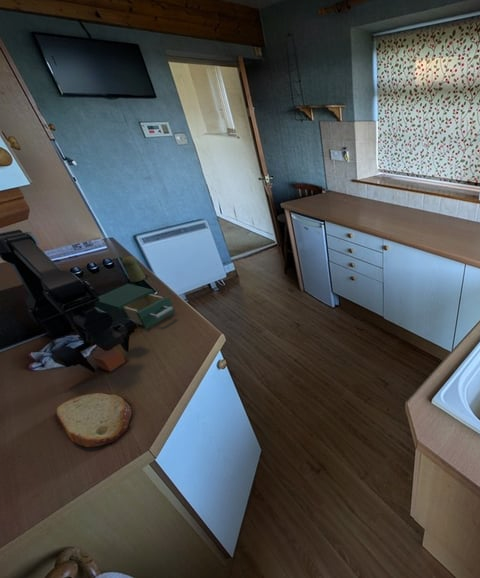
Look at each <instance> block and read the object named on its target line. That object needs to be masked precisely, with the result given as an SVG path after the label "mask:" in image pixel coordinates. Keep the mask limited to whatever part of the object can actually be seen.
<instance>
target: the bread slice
mask: <svg viewBox="0 0 480 578" xmlns="http://www.w3.org/2000/svg"><path fill="white" fill-rule="evenodd" d="M131 417H132V409H131V406H130V405H129V404H128V403H127V402H126V401H125V400H124V398H122V397H121V396H119V395H117V394H107V393H106V394H105V393H102V392H100V393H99V392H98V393H97V392H95V393H88V394H84V395H79V396H76V397H74V398H71V399H69V400H67V401H65V402H63V403H61V404H60V405H58V407H57V408H56V418H57V420H58V423H59V425H60V426H61V428H62V429H63V431H64V433H65V434H66V436H67V437H68V439H70V441H71V442H73V443H75V444H78V445H80V446H82V447H84V448H92V447H93V448H94V447H100V446H104V445H107V444H112V443H114V442H115V441H117V440H118V439H120V437H121V436H122V435H123V434H124V433H126V432H127V430H128V428H129V422H130V419H131Z"/></svg>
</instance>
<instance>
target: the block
mask: <svg viewBox="0 0 480 578" xmlns="http://www.w3.org/2000/svg"><path fill="white" fill-rule="evenodd" d="M93 358H94V360H95V362H96V363H97V364H98V366H99V368H100V369H102V370H105V371H108V372H112V371H114V370H115V369H117V368H118V367H120V366H121V365H123V364H124V363H127V362H126V359H125V357H124V356H123V354H122V353H121V351H120V350H117V349H115V348H112V349H111V350H109V351H104V350H103V351H102V352H100V353H99V354H97V355H95V356H94V357H93Z"/></svg>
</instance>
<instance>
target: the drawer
mask: <svg viewBox="0 0 480 578" xmlns="http://www.w3.org/2000/svg"><path fill="white" fill-rule="evenodd" d="M122 310H123V312H124V314H125V316H126V317H127V319H131V320H134V321H135V322H136V323H137V325H141V326H142V327H143V329H149V328H150V327H152V326H154V325H155V324H157V323H158V322H160V321H162V320H163V319H165V318H167V317H168V316H170V315H172V314H173V313H175V312H176V309H175V307H174V305H173V303H172V301H171V298H170V296H164V297H163V296H161V295H157V294H155V295H153V294H148V295H146V296H144V297H142V298H140V299H138V300H136V301H134V302H132V303H130V304H128V305H126V306H124V307H122Z"/></svg>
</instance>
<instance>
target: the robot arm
mask: <svg viewBox="0 0 480 578" xmlns="http://www.w3.org/2000/svg"><path fill="white" fill-rule="evenodd" d="M38 245H40V242H39V241H38V239H37V238H36V236H35V235H34V234H33V232H32V231H26V232H23V231H22V230H21V229H13V230H10V231H5V232H4V231H3V232H0V259H1V260H2V261H3V262H6V263H8V264H10V266H11V267H12V268H13V270H14V272H15V273H16V276H18V279H19V280H20V281H21V283H22V285H23V287H24V288H25V290H26V292H27V294H28V295H29V296H28V298H27V299H26V301H25V304H26V305H27V307H28V308H27V313H28V314H27V315H28V316H29V317H30V319H31V320H32V321H33V322H34V323H36V324H37V325H38V326H40V325H41V326H42V327H43V329H44V331H45V332H44V334H45V335H46V336H49V337H53V338H55V339H58V338H61V337H62V336H65V335H66V334H68V333H70V332H73V331H75V332H76V333H77V335H78V337H77V338H78V339H79V341H81V342H82V343H80V344H79V345H78V346H76V347H71V346H69V345H66V346H64V347H63V348H61V349H59V350H57V351H55V352H53V353H52V354H51V360H52V361H53V362H54V364H56V365H57V364H58V365H60V366H63V367H65V368H69V367H75V366H78V365H79V366H81V367H82V368H84V369H86V370H88V371H90V372H92V373H96V372H97V371H96V369H95V367H94V366H93V365H92V364H91V363H90V362H89V361H88V358H87V357H85V355H84V354H83V353H84V352H86V351H87V350H90V349H91V348H93V347H95V346H96V347H98V348H100V349H101V350H103V352H104V351H109V350H111V349H114V348H116V347H117V346H118V345H120V347H121V348H122V349H123V350H124V352H125V353H128V352H129V351H130V337H131V335H132V334H133V333H134V332H136V329H138V328H139V324H137V323H136V322H135V321H134V320H131V319H127V318H123V317H122V318H120V319H118V320H116V321H114V322H113V319H112V317H111V315H109V314H108V313H106V312H104V311H102V310H100V309H99V308H97V307H96V305H95V304H94V303H95V302H97V301H100V299H99V298H98V297H99V293H98V292H97V291H96V290H95V289H94V287H92V286H91V284H90V283H89V282H88V281H85V280H84V279H83V278H79V277H78V276H77V275H76V274H74V273H73V272H72V271H68V270H64V269H62V268H60V267H59V266H58V265H57V263H55V262H54V261H53V260H52V259H51V258H50V257H49V256H48V255H47V254H46V253H45V252H44V251H43V250H42V249H41V248H40V247H39V246H38ZM87 295H89V296H87Z"/></svg>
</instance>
